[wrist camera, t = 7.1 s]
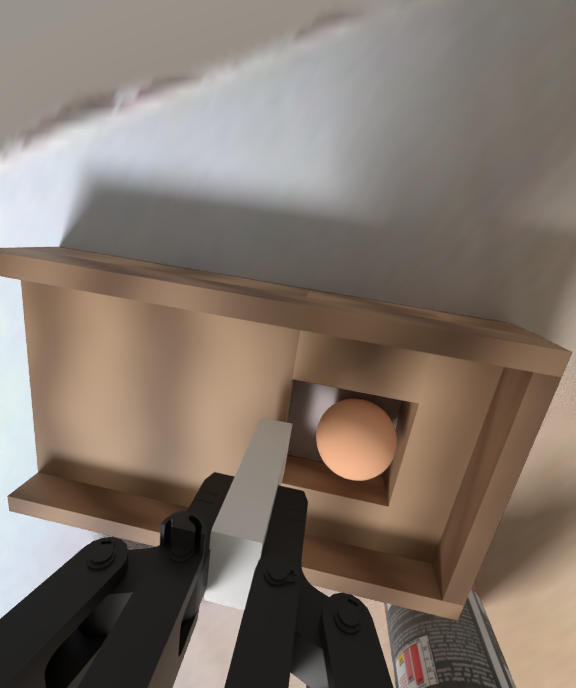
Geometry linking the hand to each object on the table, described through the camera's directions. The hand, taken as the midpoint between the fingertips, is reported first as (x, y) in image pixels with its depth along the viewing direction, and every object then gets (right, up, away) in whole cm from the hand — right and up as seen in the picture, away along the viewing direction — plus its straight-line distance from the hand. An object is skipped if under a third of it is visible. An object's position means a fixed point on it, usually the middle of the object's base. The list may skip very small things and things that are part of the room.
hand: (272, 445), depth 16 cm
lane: (-1, +1, +4) cm, 4 cm away
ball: (+4, +1, +3) cm, 5 cm away
